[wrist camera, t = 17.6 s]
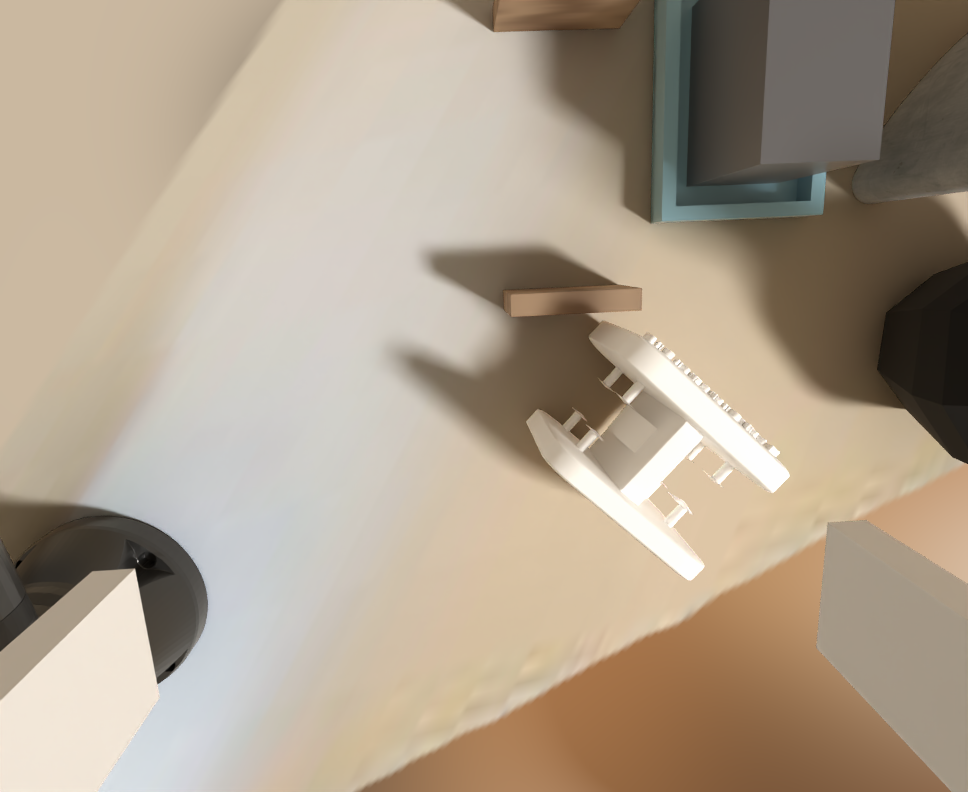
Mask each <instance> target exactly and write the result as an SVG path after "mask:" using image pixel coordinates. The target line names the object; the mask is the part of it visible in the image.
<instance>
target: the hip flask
mask: <svg viewBox="0 0 968 792" xmlns="http://www.w3.org/2000/svg"><path fill="white" fill-rule="evenodd" d="M852 190H853V194H854V195H855V197H856V198H857V199H858V200H859V201H861V202H863V203H866V204H873V203H881V202H888V201H896V200H904V199H911V198H919V197H927V196H934V195H942V194H949V193H957V192H965V191H968V33H967V34H966V35H965V36H964V37H963V38H962V39H960V40H959V41H958V42H957V43H956V44H955V45H954V46H953V47H952V48H951V49H950V50H949V51H948V52H947V53H946V54H945V55H944V56H943V57H942V58H941V59H940V60H939V61H938V62H937V63H936V64H935V65H934V66H933V67H932V69H931V70H930V71H929V72H928V73H927V74H926V75H925V76H924V77H923V79H922V80H921V81H920V82H919V83H918V84H917V86H916V87H915V88H914V89H913V90H912V91H911V93H910V94H909V95H908V96H907V98H906V99H905V100H904V101H903V102H902V104H901V105H900V106H899V108H898V109H897V110H896V111H895V113H894V114H893V115H892V117H891V118H890V119H889V121H888V122H887V124H886V125H885V126H884V128H883V129H882V139H881V150H880V160H876V161H872V162H867V163H863V164H860V165H859V167H858V169H857V170H856V172H855V174H854V176H853V180H852Z"/></svg>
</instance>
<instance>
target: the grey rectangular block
mask: <svg viewBox="0 0 968 792" xmlns="http://www.w3.org/2000/svg"><path fill="white" fill-rule="evenodd" d="M894 8H895V0H698V1H697V3H696V4H695V5H694V6H693V7H692V24H691V56H690V88H689V120H688V153H687V185H686V187H694V186H719V185H744V184H769V183H781V182H785V181H789V180H794V179H798V178H802V177H807V176H811V175H815V174H820V173H824V172H828V171H833V170H837V169H841V168H846V167H850V166H854V165H859V164H863V163H867V162H872V161H876V160H880V150H881V139H882V129H883V119H884V109H885V99H886V89H887V79H888V69H889V59H890V48H891V38H892V28H893V18H894Z"/></svg>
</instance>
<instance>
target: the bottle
mask: <svg viewBox="0 0 968 792" xmlns="http://www.w3.org/2000/svg"><path fill="white" fill-rule="evenodd" d="M877 370H878V371H879V372H880V374H881V375H882V377H883V378H884V379H885V381H886V382H887V383H888V385H889V386H890V388H891V389H892V390H893V392H894V393H895V394H896V396H897V397H898V398H899V400H900V401H901V403H902V404H903V405H904V407H905V408H906V409H907V411H908V412H909V413H910V414H911V415H912V416H913V417H914V418H915V419H916V420H917V421H918V422H919V423H920V424H921V425H922V426H923V427H924V428H925V429H926V430H927V431H928V432H929V433H930V434H931V435H932V436H933V438H934V439H935V440H936V441H937V442H938V443H939V444H940V445H941V446H942V447H943V448H944V449H945V450H946V451H947V452H948V453H949V454H950V455H951V456H952V457H953V458H956V459H958V460H960V461H962V462H964V463H967V464H968V262H967V263H964V264H962V265H959V266H956V267H954V268H951V269H948V270H945V271H943V272H940V273H937V274H935V275H933V276H932V277H931V278H929V279H928V280H927V281H926V282H924V283H923V284H922V285H921V286H919V287H918V288H917V289H916V290H914V291H913V292H912V293H911V294H909V295H908V296H907V297H906V298H905V299H903V300H902V301H901V302H900V303H898V304H897V305H896V306H895V307H893V308H892V309H891V310H890V311H888V312H887V313H886V319H885V325H884V331H883V337H882V343H881V349H880V355H879V361H878V367H877Z"/></svg>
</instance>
